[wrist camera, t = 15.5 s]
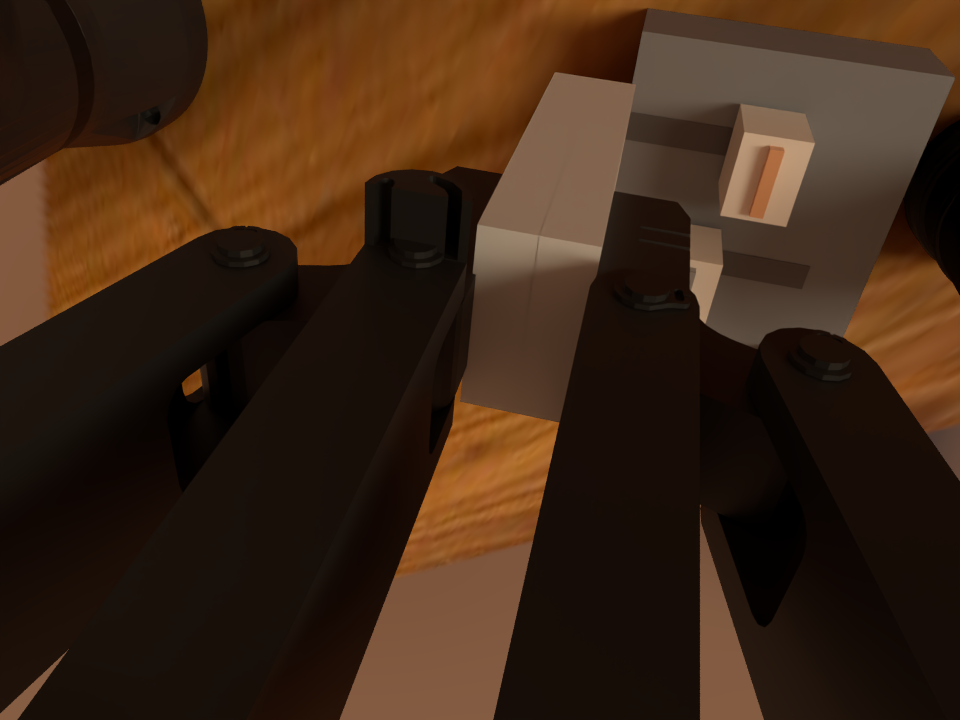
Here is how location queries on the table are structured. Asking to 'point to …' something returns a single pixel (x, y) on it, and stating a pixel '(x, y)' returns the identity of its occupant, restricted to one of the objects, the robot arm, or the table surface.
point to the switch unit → (830, 171)
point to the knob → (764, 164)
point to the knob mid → (705, 265)
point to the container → (938, 202)
